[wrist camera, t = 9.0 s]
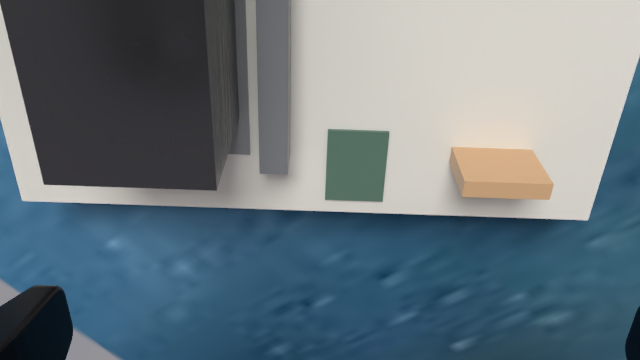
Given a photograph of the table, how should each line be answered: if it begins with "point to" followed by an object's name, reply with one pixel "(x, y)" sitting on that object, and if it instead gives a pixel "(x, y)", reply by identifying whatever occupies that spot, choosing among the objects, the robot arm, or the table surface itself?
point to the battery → (127, 89)
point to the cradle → (401, 109)
